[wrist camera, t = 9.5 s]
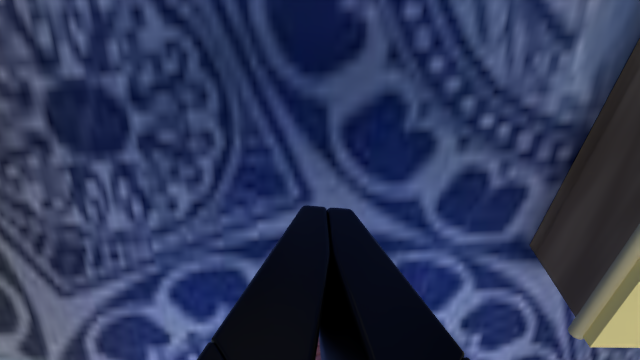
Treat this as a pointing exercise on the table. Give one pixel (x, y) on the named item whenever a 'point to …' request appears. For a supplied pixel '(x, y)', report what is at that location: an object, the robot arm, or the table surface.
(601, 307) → the lid
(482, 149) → the table surface
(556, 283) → the walnut box
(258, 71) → the table surface
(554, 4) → the table surface
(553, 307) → the table surface
